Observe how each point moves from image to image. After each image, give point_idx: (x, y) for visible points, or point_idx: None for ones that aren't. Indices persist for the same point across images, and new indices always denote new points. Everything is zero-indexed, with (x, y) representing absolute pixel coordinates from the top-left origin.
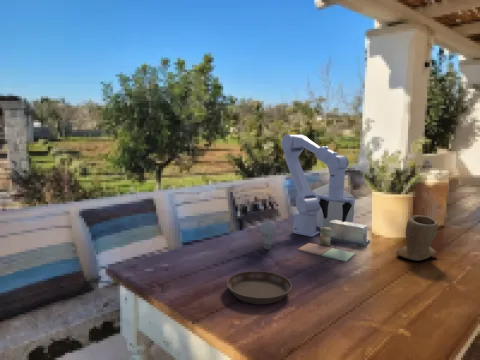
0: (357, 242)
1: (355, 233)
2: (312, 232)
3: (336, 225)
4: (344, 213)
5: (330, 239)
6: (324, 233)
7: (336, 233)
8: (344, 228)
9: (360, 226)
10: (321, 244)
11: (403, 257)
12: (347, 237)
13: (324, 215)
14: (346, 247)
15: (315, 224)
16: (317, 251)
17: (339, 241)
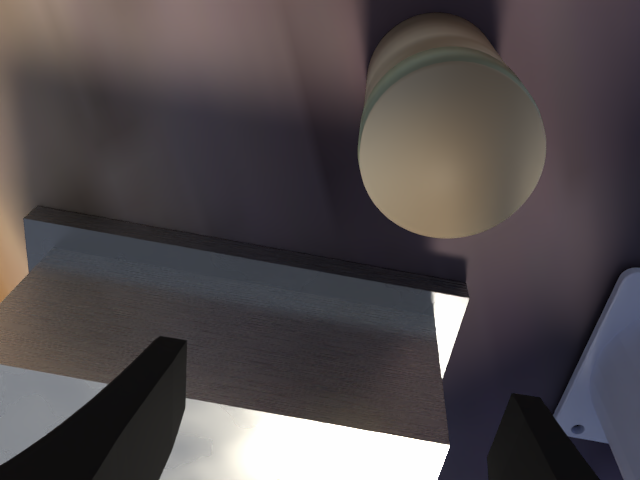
0: (98, 239)
1: (95, 315)
2: (634, 339)
3: (339, 401)
4: (70, 439)
5: (403, 273)
6: (449, 47)
7: (340, 329)
8: (228, 366)
9: (15, 407)
10: (468, 23)
11: None
12: (209, 291)
13: (543, 432)
14: (175, 89)
15: (636, 442)
16: None
17: (300, 253)
